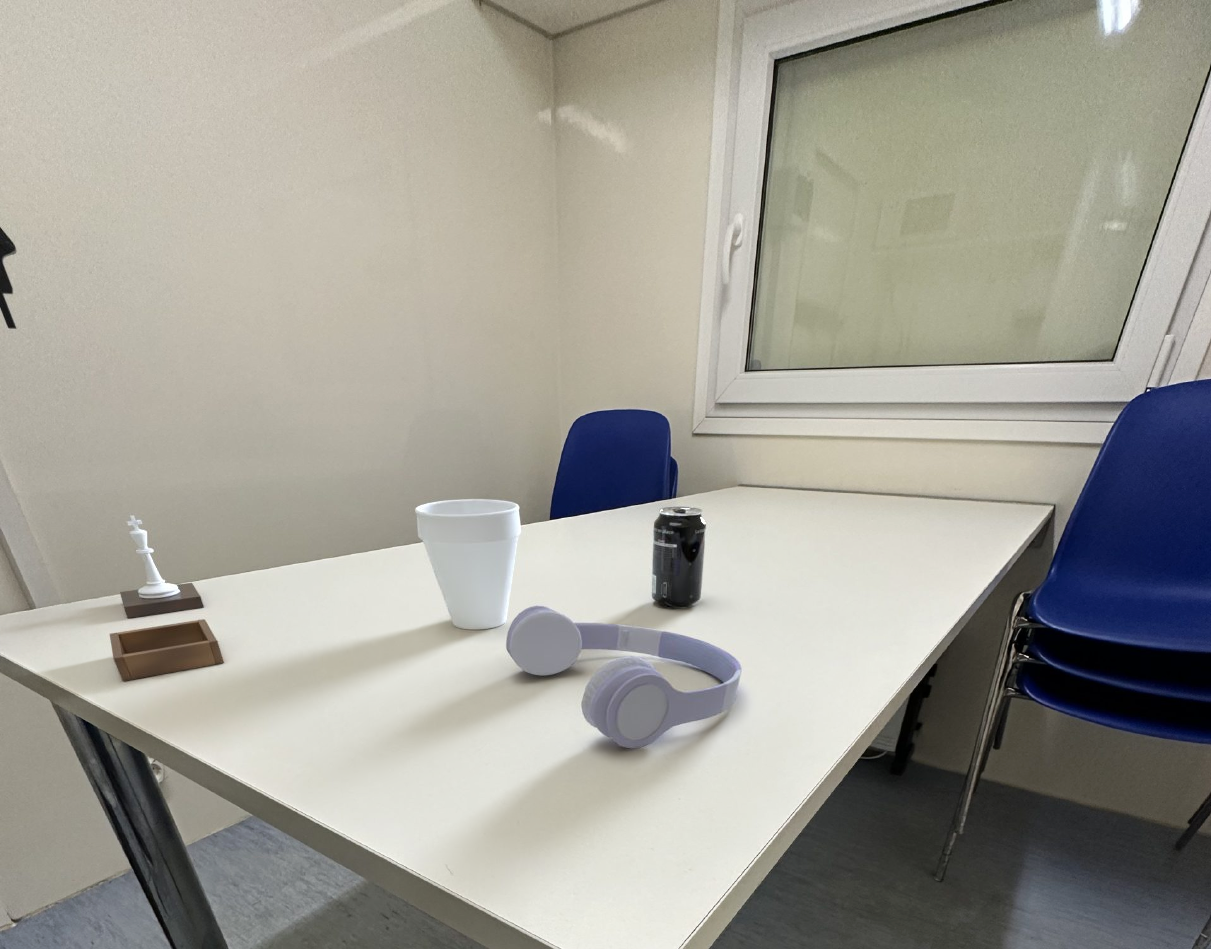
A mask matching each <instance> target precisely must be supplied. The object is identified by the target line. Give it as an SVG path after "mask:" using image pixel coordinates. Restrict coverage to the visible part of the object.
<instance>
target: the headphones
mask: <svg viewBox="0 0 1211 949" xmlns="http://www.w3.org/2000/svg"><path fill="white" fill-rule="evenodd" d="M505 647H506V651H507V654H509V656H510V658H511V659H512V660H513V661H514V663H515V665H517V666H518V667H519V668H520V669H522V671H524V672H526V673H528V674H532V675H535V676H552V675H555V674H559V673H561V672H563V671H566V670H568V668H570V667H571V666H573V665H574V664H575V662H576V661H577V660H578V658H579V656H580V654H581V652H582V650H601V651H602V650H603V651H604V650H605V651H616V652H617V651H618V652H628V653H629V652H630V653H637V654H643V655H649V656H652V657H658V658H661V659H666V660H672V661H676V662H681V663H685V664H689V665H691V666H693V667H696V668H698V669H700V670H702V671H704V672H706V673H708V674H711V675H712V676H713V677H715V678H716V679H718V680H720V681H721V682H722V683H721V684H717V685H714V686H711V687H707V688H701V689H695V690H689V691H681V690H678V689H676V688H674V687H673V686H672V684H671V682H669V681H668V680H667V679H665V678H664V677H663V675H662V674H660V672H658V671H657V670H656V668H655V666H654V665H653V664H652V663H651V662H650V661H648V660H647V659H645V658H642V657H639V656H632V655H629V656H622V657H618V658H615V659H613V660H611V661H609V662H607V663H605V664H604V665H603V666H602V667H600V668H598V670H596V672H595V673H594V674H593V675H592V676H591V678H590V679H589V681H588V682H587V684H586V686H585V689H584V691H583V692H584V693H583V696H582V699H581V704H580V706H581V712H582V715H583V718H584V719H585V721H586V722H587V723H588V724H589V725H590V726H592V727H593V728H596V729H597V730H598V731H599V732H600V733H601V734H602V735H603V736H606V737H608V738H610V739H612V741H614V743H616V744H617V745H618V746H620V747H622V748H627V749H640V748H643V747H646V746H648V745H650V744H653V743H654V742H655V741H656V740H657V739H659V738H660V737H661V736H662V735H664V734H665V733H666V732H667V731H669V730H670V729H672V728H673V727H676V726H680V725H684V724H689V723H693V722H697V721H702V720H705V719H709V718H712V717H714V716H717V715H719V714H723V713H725V712H726V711H728V710H729V709H730V708H731V707H732V706H733V705H734V704H735V702H736V699H737V694H738V690H739V689H738V688H739V684H740V679H741V675H742V669H743V668H742V666H741V663H740V661H739V660H738V659H737V658H736V657H735V656H734V655H732V654H731V653H729V652H728V651H726V650H725V649H722V648H721V647H718V646H716V645H714V644H711V643H710V642H706V641H704V640H700V639H698V638H694V637H691V636H687V635H683V634H679V633H675V632H671V631H666V630H660V629H654V628H650V627H649V628H648V627H642V626H634V625H628V624H627V625H626V624H618V623H617V624H616V623H602V622H600V623H599V622H574V621H573V620H572V619H571V618H569V617H568V616H566V615H565V614H562V613H560V612H558V611H556V610H554V609H552V608H549V607H548V606H544V605H533V606H529V607H527V608H525V609H523V610H522V611H521V612H519V613H518V614H517V615H516V616H515V617H514V618H513V620H512V622H511V623H510V626H509V628H508V630H507V635H506V642H505Z"/></svg>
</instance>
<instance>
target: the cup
mask: <svg viewBox="0 0 1211 949" xmlns="http://www.w3.org/2000/svg"><path fill="white" fill-rule="evenodd" d="M414 514H416V524H417V525H416V526H417V538H419V539H420V540H422V544H423V546H424V549H425V552H426V555H427V556H428V560H429V562H430V565H431V568H432V570H433V573H434V576H435V579H436V581H437V584H438V587H439V590H440V592H441V595H442V598H443V601H444V603H445V605H446V608H447V611H448V614H449V616H450V620H451V622H452V625H453V626H455V627H456V628H459V629H462V630H463V629H464V630H471V631H473V630H477V631H479V630H488V629H494V628H497V627H500V626H502V625H504V624H505V623H506V622H507V616H508V610H509V602H510V596H511V590H512V583H513V577H514V576H513V575H514V569H515V561H516V555H517V548H518V540H519V536H520V535H521V534H522V525H521V516H520V506H519V504H518V503H516V502H514V501H508V500H502V499H490V498H488V499H487V498H467V499H465V498H464V499H462V498H461V499H449V500H448V499H447V500H439V501H433V502H427V503H424V504H420V505H418V506H417V507H415V508H414Z"/></svg>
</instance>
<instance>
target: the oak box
mask: <svg viewBox="0 0 1211 949" xmlns="http://www.w3.org/2000/svg"><path fill="white" fill-rule="evenodd" d="M109 639H110V647H111V652H112V658H113V661H114V663H115V666H116V669H117V671H118V673H119V676H120V678H121V681H122V682H127V681H132V680H138V679H145V678H149V677H153V676H154V677H155V676H159V675H166V674H170V673H175V672H181V671H188V670H193V669H197V668H198V669H199V668H202V667H208V666H214V665H221V664H224V663H225V660H224V658H223V654H222V652H221V648H220V644H219V642H218V640H217V638H216V636H215V635H214V633H213V631H212V629H211V627H210V626H209V624H208V622H207V620H206V619H204V618H202V619H198V620H190V621H189V620H188V621H184V622H177V623H172V624H164V625H158V626H157V625H156V626H151V627H145V628H144V627H143V628H138V629H131V630H124V631H119V632H118V631H117V632H113V633H112V632H111V633H109Z"/></svg>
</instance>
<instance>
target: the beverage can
mask: <svg viewBox="0 0 1211 949" xmlns="http://www.w3.org/2000/svg"><path fill="white" fill-rule="evenodd" d="M658 512H659V514H658V517H656V519H655V520H654V521H653V530H652V531H653V532H652V533H653V534H652V536H653V537H652V562H651V563H652V564H651V568H652V569H651V598H652V599H653V600H654V601H655V602H656V603H657V604H658V605H659V606H661V607H664V608H669V609H684V608H685V609H686V608H690V607H692V606H693V605H694V604H696V603H697V602H698V601H700V599H701V597H702V588H703V578H704V577H703V575H704V573H703V572H704V562H705V561H704V560H705V548H706V534H707V521H705V519H704V518H703V516H702V513H703V509H702V508H699V507H694V506H667V507H662V508H659V509H658Z"/></svg>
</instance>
